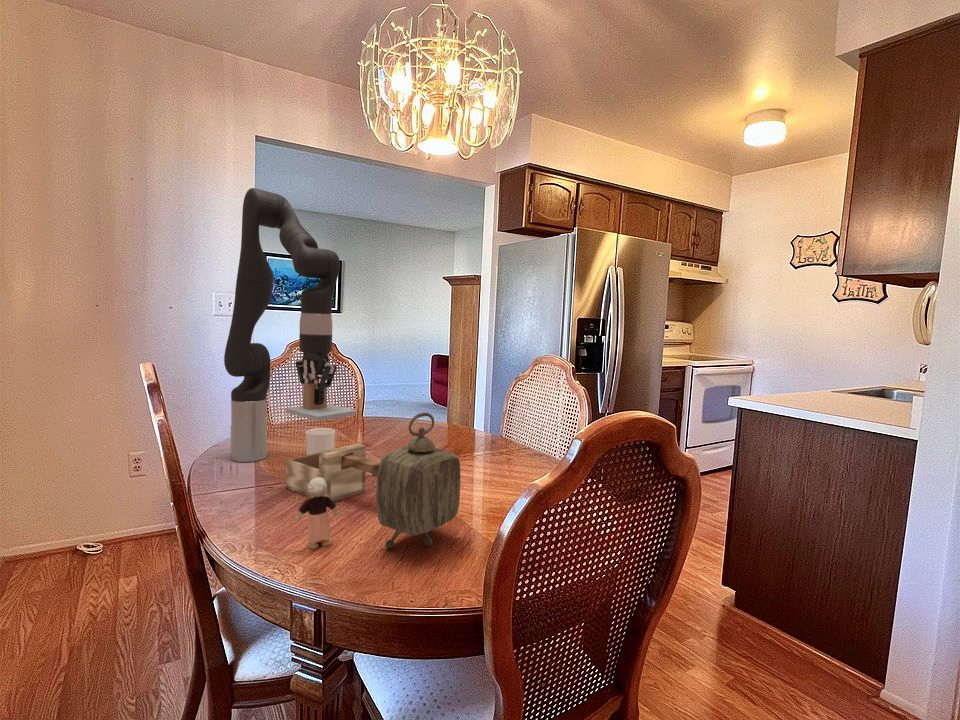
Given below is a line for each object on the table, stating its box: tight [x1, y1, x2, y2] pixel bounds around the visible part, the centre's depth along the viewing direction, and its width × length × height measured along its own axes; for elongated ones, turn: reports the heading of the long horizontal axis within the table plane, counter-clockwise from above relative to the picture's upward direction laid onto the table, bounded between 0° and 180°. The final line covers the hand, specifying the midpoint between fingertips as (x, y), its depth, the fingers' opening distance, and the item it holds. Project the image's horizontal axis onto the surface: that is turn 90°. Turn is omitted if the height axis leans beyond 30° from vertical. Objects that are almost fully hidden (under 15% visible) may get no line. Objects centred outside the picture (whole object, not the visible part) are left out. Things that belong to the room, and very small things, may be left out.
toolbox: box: [285, 443, 367, 503], centre depth 123 cm, size 16×11×11 cm
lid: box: [284, 381, 357, 422], centre depth 123 cm, size 13×11×7 cm
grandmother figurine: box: [294, 477, 340, 549], centre depth 94 cm, size 8×4×13 cm, turn 131°
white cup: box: [305, 427, 336, 455], centre depth 142 cm, size 8×8×10 cm
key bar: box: [341, 454, 380, 478], centre depth 115 cm, size 12×3×2 cm, turn 53°
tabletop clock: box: [375, 412, 461, 550], centre depth 96 cm, size 14×9×25 cm, turn 145°
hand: (314, 403), depth 124 cm, fingers closed on lid, 2 cm apart
